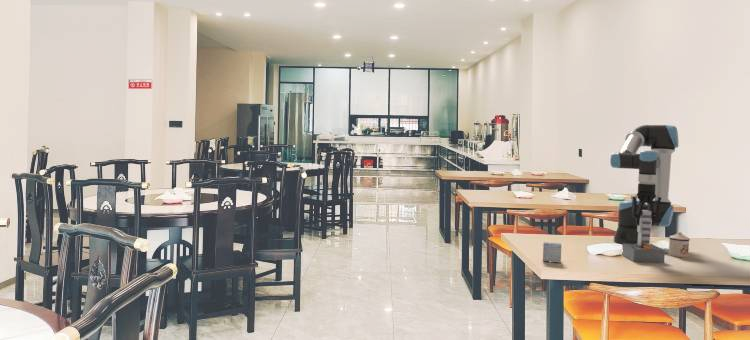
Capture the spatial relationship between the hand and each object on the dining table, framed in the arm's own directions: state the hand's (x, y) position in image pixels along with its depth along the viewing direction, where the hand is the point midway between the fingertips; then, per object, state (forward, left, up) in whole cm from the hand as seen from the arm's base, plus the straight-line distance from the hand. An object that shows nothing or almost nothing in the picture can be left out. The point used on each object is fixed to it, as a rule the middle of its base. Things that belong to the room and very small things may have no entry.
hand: (644, 232), depth 279 cm
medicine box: (+12, -46, -13) cm, 49 cm away
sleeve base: (0, 0, -13) cm, 13 cm away
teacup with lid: (-12, +23, -13) cm, 29 cm away
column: (0, 0, -10) cm, 10 cm away
